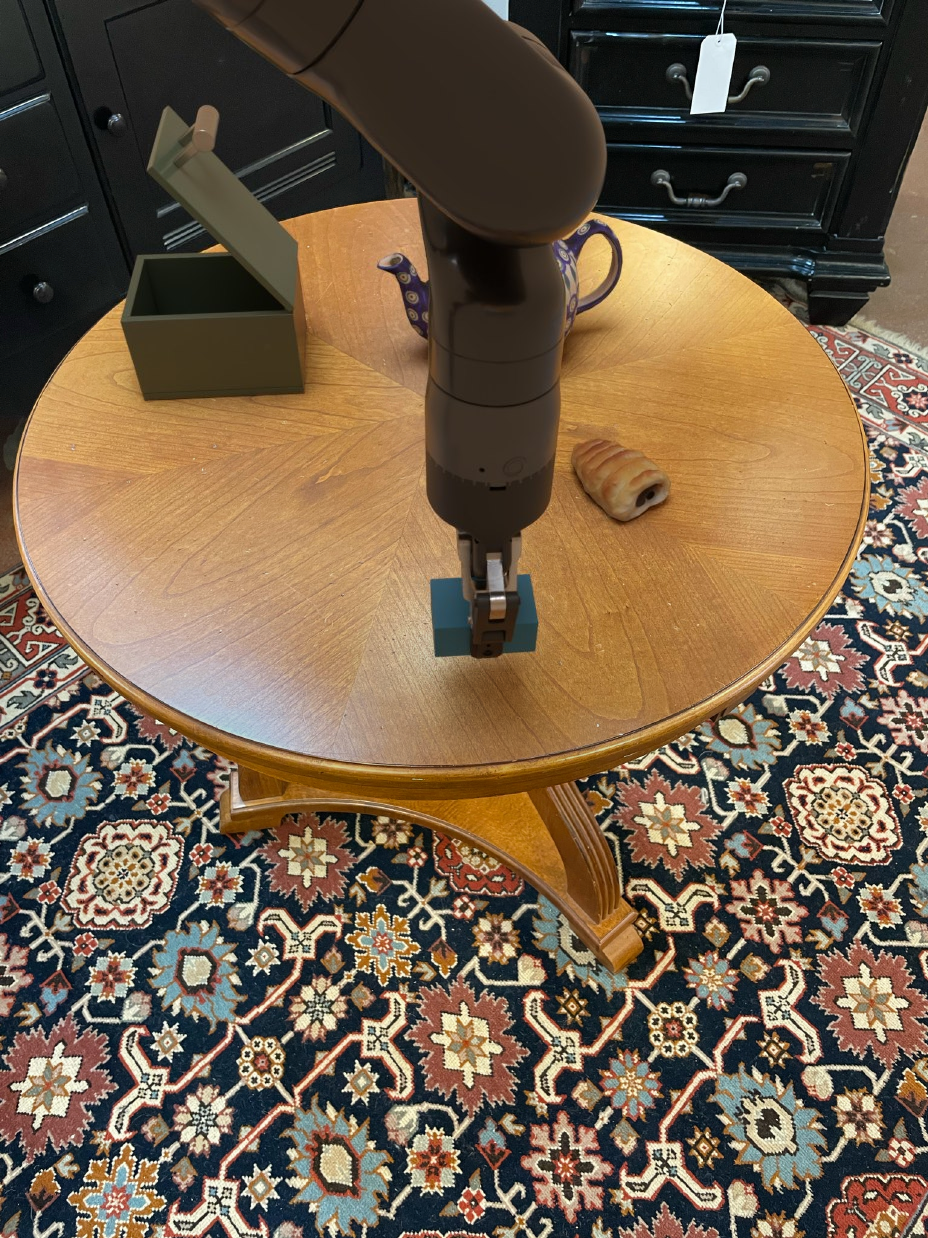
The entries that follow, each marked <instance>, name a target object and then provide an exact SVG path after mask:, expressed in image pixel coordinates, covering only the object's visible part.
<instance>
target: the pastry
mask: <svg viewBox="0 0 928 1238" xmlns="http://www.w3.org/2000/svg"><path fill="white" fill-rule="evenodd" d="M571 451H572V452H571V456H570V463H571V465H572V466H573V468H574V471H575V472H576V475H577V477H578V479H579V480H580V482H581V484H582V486H583V491H585V493H586V494H589V496H590V497H591V499H592V500H593V501H594V502H595V503H596V504H597V506H600V507H601V508H602V509H603V511H604V512H605V513H606V514H607V515H608V516H609V517H611V518H613V519H615V520H618V521H621V522H628V521H631V520H632V519H634V518H636V517H639V516H640V515H641V514H642V513H644V512H645V511H646V510H647V509H648V508H650V507H652V506H656V505H658V504H660V503H662V502H664V501H665V500H666V499H667V497H668V496H669V493H670V491H671V487H672V481H671V479H670V477H669V474H668V473H667V472H665V471H663V470H662V468H661V466H659V465H658V464H657V463H656V462H655V461H654V460H652V459H651V458H649V457H648V456H647V455H646V454H645V453H644V452H643V451H642V450H639V449H638V450H635V449H633V448H628V447H626V446H624V445H621V444H620V443H619V442H617V441H612V440H608V439H604V438H600V437H599V438H598V437H597V438H593V439H589V440H585V442H579V443H575V445H573V448H572V450H571Z"/></svg>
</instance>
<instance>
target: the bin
mask: <svg viewBox="0 0 928 1238" xmlns="http://www.w3.org/2000/svg"><path fill="white" fill-rule="evenodd" d="M121 313H122V314H121V318H120V326H121V329H122V332H123V335H124V338H125V343H126V345H127V349H128V351H129V354H130V358H131V361H132V365H133V368H134V371H135V374H136V377H137V380H138V384H139V388H140V391H141V394H142V397H143V400H144V401H156V400H157V401H159V400H178V399H179V400H180V399H200V398H203V399H204V398H222V397H224V398H225V397H244V396H246V397H247V396H267V395H268V396H270V395H288V394H289V395H290V394H305V391H306V389H305V387H306V364H307V362H306V361H307V339H308V337H307V336H308V323H307V316H306V307H305V300H304V293H303V285H302V278H301V271H300V264H299V257H298V258H297V277H296V295H295V308H294V309H293V310H292V311H290V312H289V311H288V310H287V309H286V308H285V307H284V306H283V305H282V304H281V303H280V302H279V301H278V300H277V299H276V298H275V297H274V296H273V295H272V294H271V293H270V292H269V291H268V290H267V289H266V288H265V287H264V286H263V285H262V284H261V283H259V282H258V281H257V280H256V279H255V278H254V277H253V276H252V275H251V274H250V273H249V272H248V271H247V270H246V269H245V268H244V267H243V266H242V265H241V264H240V263H239V262H238V261H237V260H236V259H235V258H234V257H233V256H232V255H231V254H230V253H229V252H228V251H216V252H215V251H211V252H209V251H208V252H186V253H185V252H183V253H157V254H155V253H154V254H137V255H136V259H135V263H134V268H133V271H132V274H131V278H130V283H129V286H128V290H127V294H126V299H125V302H124V306H123V309H122V312H121Z"/></svg>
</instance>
